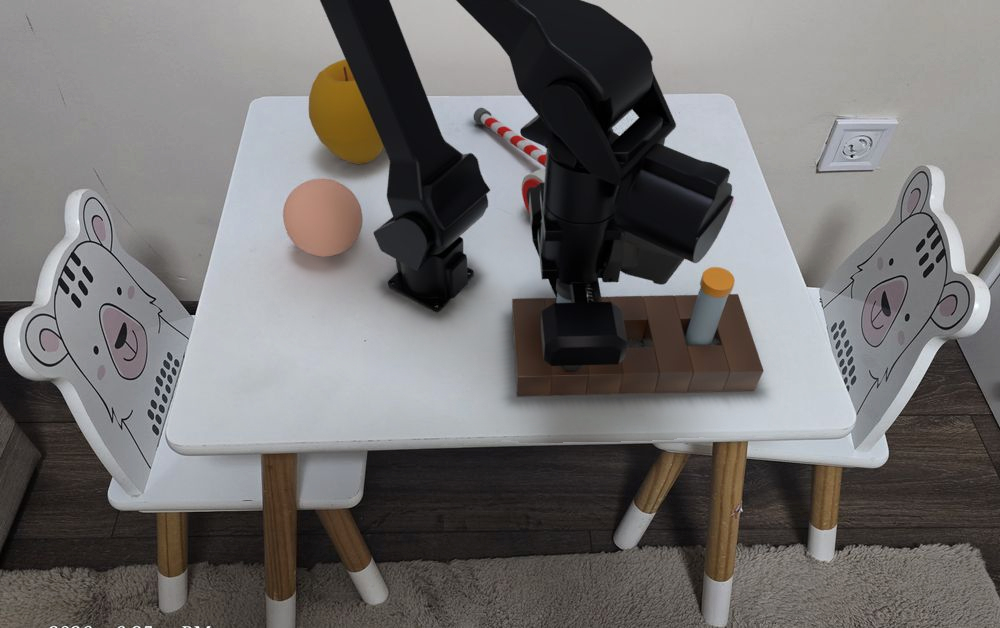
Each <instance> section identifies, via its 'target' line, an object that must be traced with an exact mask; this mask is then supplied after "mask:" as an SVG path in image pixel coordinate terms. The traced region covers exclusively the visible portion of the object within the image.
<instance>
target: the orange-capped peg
mask: <svg viewBox="0 0 1000 628" xmlns="http://www.w3.org/2000/svg"><path fill="white" fill-rule="evenodd" d="M735 282H736V280H735V277H734V275H733V274H732V273H731V271H729V270H728V269H726V268H723V267H720V266H719V267H718V266H713V267H708V268H707V269H705V270H704V271H703V272H702V275H701V278H700V281H699V285H700V288H699V291H698V294H697V295H698V297H697V300H696V304H695V307H694V310H693V313H692V317H691V320H690V323H689V327H688V330H687V333H686V336H685V341H686V345H687V346H708V345H711V343H712V340H713V337H714V334H715V332H716V329H717V326H718V323H719V320H720V317H721V314H722V312H723V309H724V306H725V303H726V300H727V297H728V295H729V294H732V291H733V288H734V286H735Z"/></svg>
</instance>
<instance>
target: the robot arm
mask: <svg viewBox="0 0 1000 628" xmlns="http://www.w3.org/2000/svg"><path fill="white" fill-rule="evenodd" d="M455 1H456V2H457V3H458V4H459V5H460V6H461V7H462V8H463V9H464V10H465V11H466V12H467V13H468V14H469V15H470V16H471V17H472V18H473V19H474V20H475V22H477V23H478V24H479V25H480V26H481V27H482V28H483V29H484V30H485V31H486V32H487V33H488V34H489V35H490V36H491V38H493V39H494V40H495V41H496V42H497V43H498V44H499V46H500V47H501V48H502V49H503V51H504V52H505V54H506V55H507V56H508V58H509V61H510V64H511V68H512V71H513V75H514V78H515V82H516V85H517V89H518V91H519V92H520V93H521V95H522V96H523V98H525V100H526V101H527V102H528V104H529V105H530V106H531V107H532V109H533V110H534V112H535V113H536V114H537V115H536V116H534V117H533V118H532V119H531V120H529V122H527V123H526V124H525V125H524V126H522V127H521V128H520V130H519V133H520V134H519V135H520V136H521V137H523V138H524V139H526V140H527V141H531V142H533V143H535V144H537V145H539V146H541V147H544V148H545V149H546V152H545V153H546V167H544V168H545V169H544V170H545V182H544V183H540V184H538V185H537V186H536V187H535V188H533V189H532V190H531V191H530V198H529V211H530V215H529V220H530V222H529V223H530V228H531V239H532V244H533V245H534V248H535V251H536V253H537V255H538V258H539V265H540V275H541V280H548V283H549V285H550V287H551V290H552V292H553V295H554V298H557V291H556V282H557V281H558V282H560V283H564V284H568V285H569V286H570V294H571V301H572V303H553V304H552V305H550V306H549V307H547V308H546V309H544V310H543V311H541V339H542V349H543V360H544V361H545V362H547V363H548V364H549V365H551V366H561V367H562V369H563V370H564V371H565V372H576V371H578V369H579V368H580V367H581V366H582V365H613V364H619V363H620V362H621V361H623V360H624V359H625V355H626V350H627V347H629V346H628V345H629V340H627V335H626V330H625V325H624V319H623V314H622V309H620V308H619V307H618V306H616V305H615V304H614V303H612V302H602V299H601V297H602V294H601V289H600V283H599V279H601V281H602V283H619V282H620V275H621V273H622V274H624V275H627V276H632V277H636V278H639V279H643V280H647V281H652V283H653V284H656V285H660V286H661V285H663V286H664V285H665V284H667V283H668V281H669V280H670V279H671V277H673V275H674V274H675V273H676V271H677V270H678V268H679V267H680V266H681V264H682V263H683V262H684V260H686V261H689V262H691V263H693V264H698V263H700V262H701V260H703V259H704V257H705V256H706V255H707V254H708V252H709V251H710V249H711V248H712V246H713V244H714V243H715V242H716V240H717V238H718V236H719V234H720V232H721V230H722V229H723V227H724V225H725V222H726V220H727V217H728V216H729V213H730V211H731V208H732V205H733V201H734V199H735V197H734V196H733V195H732V193H733V185H732V184H731V183H730V182H729V179H730V176H731V171H730V169H729V168H727V167H724V166H722V165H719V164H717V163H714V162H711V161H705V160H701V159H697V158H695V157H693V156H691V155H688V154H686V153H683V152H680V151H678V150H676V149H674V148H671V147H668V146H666V145H665V143H666V138H667V137H668V136H669V135H670V134H671V133H672V132H673V131H675V130H676V128H677V123H676V121H675V118H674V117H673V114H672V112H671V109H670V107H669V105H668V103H667V100H666V98H665V96H664V94H663V91H662V89H661V86H660V85H659V83H658V80H657V78H656V76H655V73H654V70H653V63H652V62H653V60H654V57H653V54H652V52H651V50H650V48H649V46H648V44H647V43H646V42H645V40H643V38H642V37H641V36H640V35H638V33H636V32H635V31H634V30H632V28H630V27H628V26H627V25H626V24H625V23H624V22H622V21H620V20H619V19H618V18H616V16H613V14H611V13H610V12H608V11H607V10H605V9H604V8H603V7H601V6H600V5H597V4H594V3H591V2H588V1H585V0H455ZM319 2H320V4H321V7H322V8H323V11H324V13H325V16H326V17H327V20H328V23H329V25H330V27H331V29H332V31H333V33H334V36H335V38H336V40H337V41H336V42H337V43H338V45H339V47H340V49H341V52H342V55H343V56H344V59H346V61H347V63H348V66H349V68H350V70H351V73H352V75H353V77H354V79H355V82H356V84H357V86H358V89H359V91H360V93H361V95H362V98H363V100H364V102H365V105H366V107H367V109H368V111H369V114H370V116H371V118H372V121H373V123H374V125H375V127H376V130H377V132H378V134H379V137H380V139H381V141H382V143H383V146H384V148H383V149H384V151H385V153H386V155H387V157H388V160H389V167H388V176H387V177H388V178H387V189H386V200H387V203H388V206H389V209H390V212H391V215H392V216H391V218H389V219H388V220H387V221H386V222H385V223H383V224H382V225H381V226H379V227H378V228H376V229H375V230H374V231H373V236H374V239H375V241H376V243H377V246H378V248H379V250H380V252H382V253H384V254H386V255H388V256H390V257H391V258H393V259H395V265H396V273H395V274H393V276H392V277H390V278H389V280H388V281H387V286H388V288H389V289H391V290H392V291H395V292H396V293H398V294H400V295H402V296H404V297H406V298H408V299H409V300H411V301H413V302H415V303H417V304H419V305H420V306H423V307H425V308H426V309H429V310H430V311H432V312H434V313H439V312H440V311H441V310H442V309H444V308H445V307H446V305H447V304H449V302H450V301H451V300H453V299H455V298H456V297H457V296H458V295H459V294H460V293H461V292H462V291H463V289H465V287H466V286H468V284H469V282H470V281H471V280H472V279H473V277H474V276H475V272H474V270H473V269H472V268H470V267H468V255H467V254H466V253H464V251H465V250H464V238H463V237H462V235H463V234H464V233H466V231H468V230H469V229H471V228H472V227H473V225H474V224H476V223H477V222H478V221H479V220H480V219H481V218H482V217H483V216H484V215H485V213H486V211H487V209H488V207H489V200H488V194H489V192H491V188H490V187H489V186H488V184H487V183H486V181H485V179H484V177H483V175H482V171H481V167H480V164H479V160H478V158H477V156H476V155H475V154H474V153H472V152H469V153H464V154H463V152H460V151H459V150H458V149H457V148H455V147H454V146H453V145H452V144H450V143H449V142H447V141H446V140H445V138H444V136H443V134H442V132H441V129H440V127H439V123H438V122H437V118H436V116H435V114H434V112H433V109H432V105H431V103H430V101H429V98H428V95H427V93H426V91H425V88H424V86H423V83H422V80H421V78H420V75H419V72H418V70H417V67H416V65H415V61H414V60H413V57H412V53H411V52H410V49H409V46H408V44H407V41H406V38H405V37H404V34H403V31H402V28H401V26H400V23H399V20H398V18H397V16H396V13H395V11H394V8H393V5H392V2H391V0H319ZM631 111H633V112H634V114H635V115H636V116H637V119H636V120H635V121H634V122H633V123H631V124H630V125H629V127H627V128H626V129H625V130H624V131H622V132H621V134H620V135H619V134H618V133H616V132H615V131H614V129H613V128H614V127H615V126H616V125H618V124H619V122H620V121H621V120H623V119H624V118H625V117H626V116H627V115H628V114H630V112H631ZM585 285H586V287H587V294H586V287H585ZM587 297H588V298H589V299H588V300H587Z"/></svg>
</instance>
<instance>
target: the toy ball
mask: <svg viewBox="0 0 1000 628" xmlns="http://www.w3.org/2000/svg"><path fill="white" fill-rule="evenodd" d="M282 219H283V220H282V221H283V225H284V228H285V230H286V234H287V236H288V237H289V239H290V240H291V241H292V243H293V244H294V245H295V246H296V247H297V248H299V249H300V250H302V252H305V253H307V254H309V255H312V256H317V257H332V256H337V255H340V254H342V253H345V252H346V251H347V250H349V249H350V248H351V247H352V246H354V244H356V243H355V242H356V241H357V240H358V238H359V236H360V233H361V231H362V227H363V219H364V217H363V210H362V207H361V203H360V202H359V200H358V198H357V196H356V194H355V193H354V192H353V191H352V190H351V189H350V188H348V186H346V185H345V184H343V183H342V182H340V181H337V180H334V179H330V178H323V177H322V178H312V179H310V180H309V179H308V180H306V181H304V182H302V183H300V184H299V185H298V186H296V187H295V188H294V189H292V191H291V192H290V193H288V196H287V198H286V199H285V202H284V204H283V209H282Z"/></svg>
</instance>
